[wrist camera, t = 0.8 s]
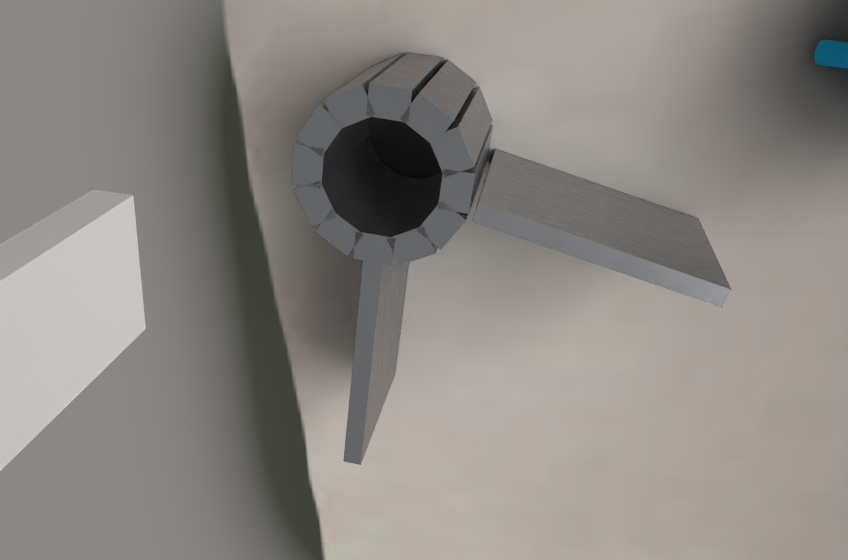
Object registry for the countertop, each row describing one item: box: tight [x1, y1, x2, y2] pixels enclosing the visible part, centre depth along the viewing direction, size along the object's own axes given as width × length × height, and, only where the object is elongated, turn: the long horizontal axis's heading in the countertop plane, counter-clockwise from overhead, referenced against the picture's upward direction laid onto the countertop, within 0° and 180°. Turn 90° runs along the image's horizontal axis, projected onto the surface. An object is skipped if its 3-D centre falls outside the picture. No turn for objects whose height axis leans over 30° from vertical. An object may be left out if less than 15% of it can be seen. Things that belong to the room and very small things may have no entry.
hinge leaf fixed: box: [292, 52, 493, 465], centre depth 36 cm, size 17×7×8 cm, turn 173°
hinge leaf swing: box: [472, 149, 731, 308], centre depth 33 cm, size 10×1×8 cm, turn 73°
